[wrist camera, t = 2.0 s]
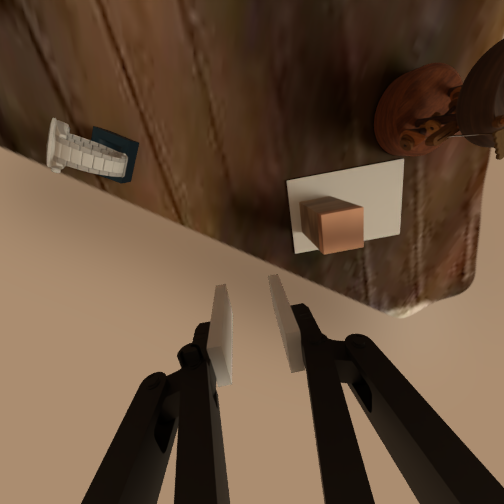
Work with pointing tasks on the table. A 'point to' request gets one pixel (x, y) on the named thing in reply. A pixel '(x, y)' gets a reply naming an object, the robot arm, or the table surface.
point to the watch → (91, 152)
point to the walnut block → (332, 224)
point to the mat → (353, 198)
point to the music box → (444, 107)
